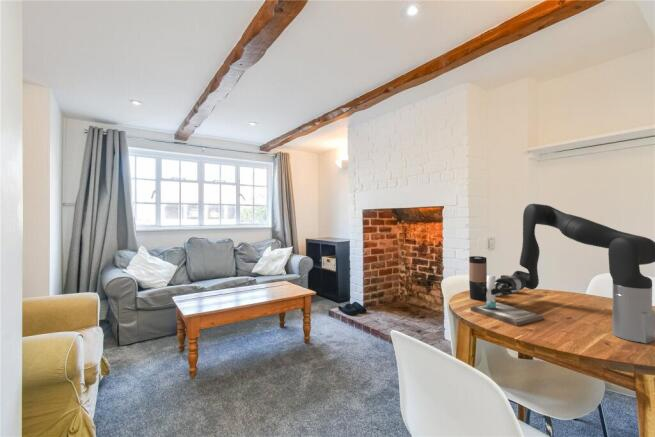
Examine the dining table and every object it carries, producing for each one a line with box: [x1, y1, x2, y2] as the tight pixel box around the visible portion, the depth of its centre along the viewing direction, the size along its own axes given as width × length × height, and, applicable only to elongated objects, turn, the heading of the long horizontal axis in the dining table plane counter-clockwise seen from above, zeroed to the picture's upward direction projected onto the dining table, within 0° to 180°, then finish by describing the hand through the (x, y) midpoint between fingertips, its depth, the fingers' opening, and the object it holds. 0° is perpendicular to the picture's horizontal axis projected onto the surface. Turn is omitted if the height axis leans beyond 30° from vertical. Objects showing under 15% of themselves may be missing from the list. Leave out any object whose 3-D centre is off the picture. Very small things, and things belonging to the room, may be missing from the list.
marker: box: [486, 274, 497, 308], centre depth 126 cm, size 3×3×13 cm
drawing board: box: [470, 301, 544, 327], centre depth 124 cm, size 20×16×2 cm
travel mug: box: [468, 255, 488, 301], centre depth 147 cm, size 8×8×20 cm
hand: (487, 291), depth 125 cm, fingers closed on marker, 3 cm apart
